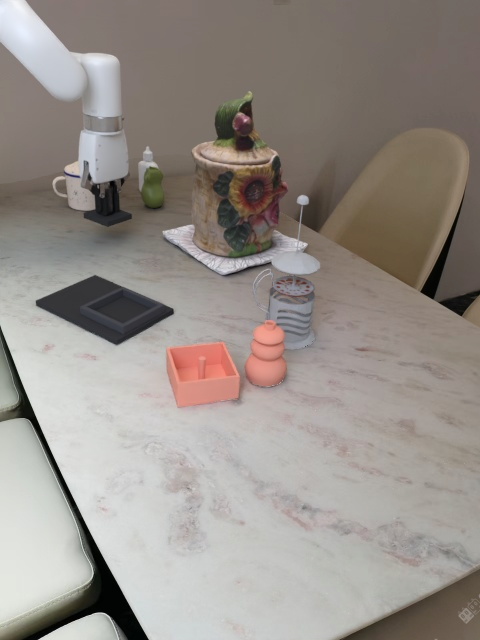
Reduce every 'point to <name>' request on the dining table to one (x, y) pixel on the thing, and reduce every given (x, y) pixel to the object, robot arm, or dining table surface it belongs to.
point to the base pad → (105, 308)
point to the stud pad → (108, 218)
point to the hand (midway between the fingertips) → (107, 211)
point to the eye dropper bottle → (145, 165)
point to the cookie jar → (235, 197)
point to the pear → (152, 188)
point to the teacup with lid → (75, 189)
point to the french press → (292, 294)
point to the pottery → (224, 367)
